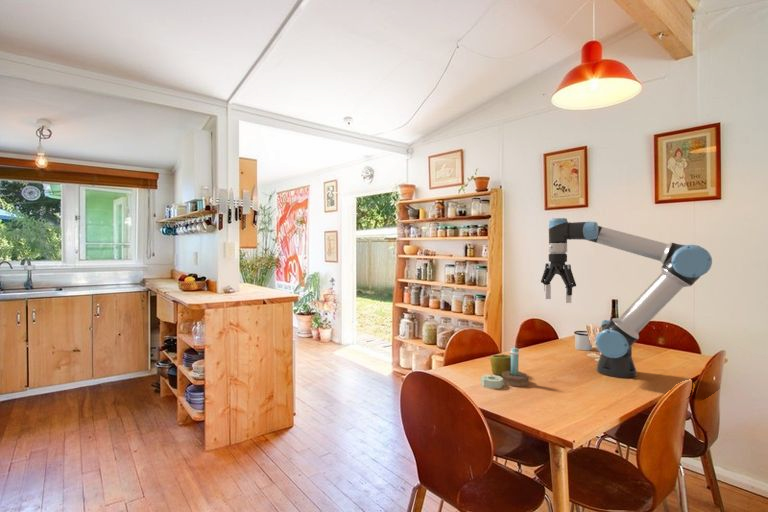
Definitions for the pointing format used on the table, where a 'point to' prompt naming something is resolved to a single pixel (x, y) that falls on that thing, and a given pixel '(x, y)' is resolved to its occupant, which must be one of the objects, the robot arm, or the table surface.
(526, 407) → the table surface
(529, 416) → the table surface
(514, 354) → the teal cylinder
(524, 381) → the brown ring
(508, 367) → the mug
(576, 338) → the mug
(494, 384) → the bead
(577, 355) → the table surface
